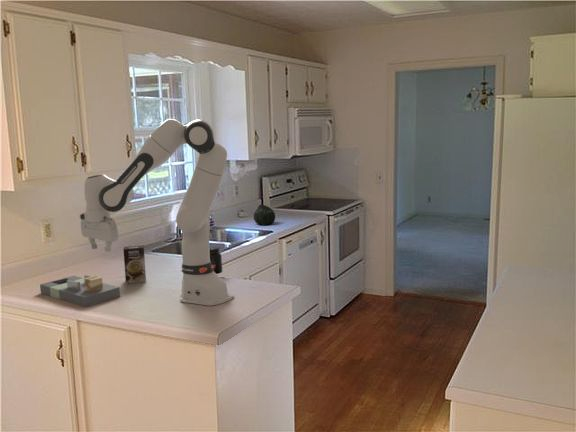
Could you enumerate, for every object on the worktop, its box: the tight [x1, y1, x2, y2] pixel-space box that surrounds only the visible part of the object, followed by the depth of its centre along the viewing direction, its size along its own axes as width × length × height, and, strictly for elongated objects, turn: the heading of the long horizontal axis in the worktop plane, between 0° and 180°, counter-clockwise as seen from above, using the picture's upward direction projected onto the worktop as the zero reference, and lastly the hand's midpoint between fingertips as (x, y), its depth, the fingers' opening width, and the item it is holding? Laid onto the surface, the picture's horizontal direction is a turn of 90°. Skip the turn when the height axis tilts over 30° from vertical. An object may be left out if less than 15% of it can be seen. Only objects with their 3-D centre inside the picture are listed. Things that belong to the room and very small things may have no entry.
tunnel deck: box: [39, 274, 121, 308], centre depth 228 cm, size 34×16×8 cm, turn 53°
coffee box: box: [123, 244, 147, 285], centre depth 245 cm, size 9×6×16 cm
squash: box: [253, 204, 276, 226], centre depth 380 cm, size 14×15×15 cm
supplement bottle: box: [209, 246, 223, 275], centre depth 256 cm, size 7×7×12 cm
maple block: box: [83, 275, 103, 292], centre depth 221 cm, size 5×5×5 cm
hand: (101, 250), depth 214 cm, fingers open, 8 cm apart
